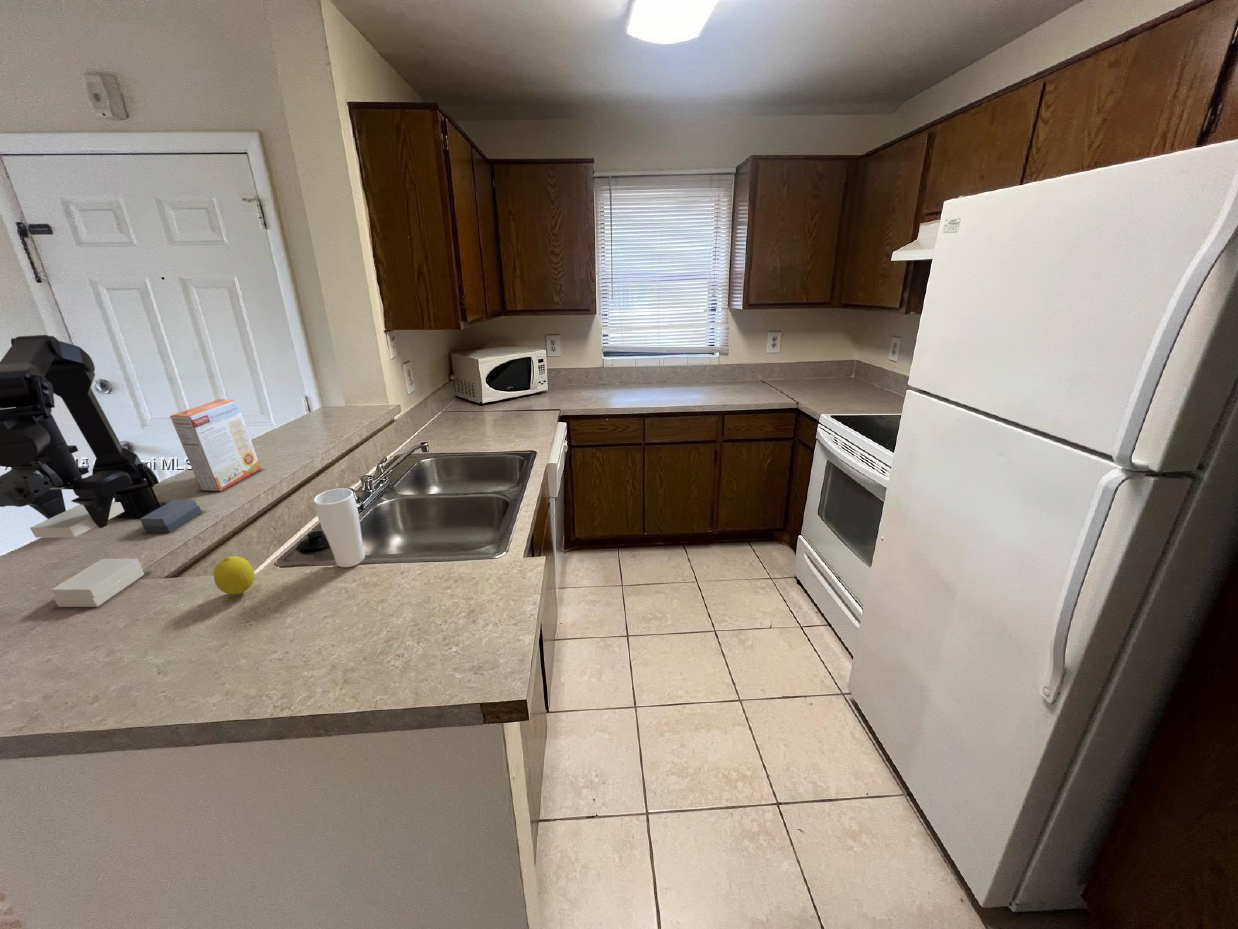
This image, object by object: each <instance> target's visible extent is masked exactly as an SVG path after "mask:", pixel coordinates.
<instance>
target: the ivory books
mask: <svg viewBox="0 0 1238 929" xmlns="http://www.w3.org/2000/svg"><path fill="white" fill-rule="evenodd" d="M144 575H145V573H144V570H143V568H142V565H141V563H140V561H139V559H138V558H101V559H100V560H98V561H97V562H95V563H93V564H92V565H90V566H88V567H86V568H85V569H83V570H81V571H80V572H78V573H77V574H75V575H73V576H72V577H70V578H68V579H66V580H65V581H63V582H62V583H60V584H58V585H57V586H55V587H53V588H52V589H51V591H52V593H53V595H54V596H55V597H54V598H53V600H54V602H55V604H56V605H57V607H58V608H90V607H91V608H98V607H100V606H101V605H102V604H104V603H105V602H107V601H108V600H110V599H111V598H113V597H114V596H115V595H117V594H119V593H120V592H122V591H123V590H124V589H126V588H128V586H130V585H131V584H133V583H134V582H136V581H137V580H139V579H141V578H142V576H144Z"/></svg>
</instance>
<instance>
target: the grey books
mask: <svg viewBox="0 0 1238 929" xmlns="http://www.w3.org/2000/svg"><path fill="white" fill-rule="evenodd" d="M200 514H202V509H201V507H200V505H198V503H197V501H196V499H172V500H171V501H169V502H167V503H166V504H165V505H164V506H162V507H160V508H158V509H156V510H155V511H153V512H151V513H149V514H148V515H146V516H144V517H140V518H139V520H140V522H141V524H142V525H141V526H142V527H143V529H144V530H145V532H146V533H149V534H150V533H157V534H159V533H160V534H161V533H162V534H163V533H168V534H169V533H172V532H173V531H175V530H176V529H178V528H179V527H181V526H183V525H184V524H186V523H187V522H189V521H190V520H192V519H194V518H195V517H197V516H198V515H200Z"/></svg>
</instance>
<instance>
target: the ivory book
mask: <svg viewBox="0 0 1238 929" xmlns="http://www.w3.org/2000/svg"><path fill="white" fill-rule="evenodd" d="M122 512H124V509H123V507H122V505H121V503H120V502H114V501H112V504H111V509H110V513H109V518H108V521H109V520H112V519H113V518H115V517H116V516H117V515H119V514H121V513H122ZM96 527H98V526H97V525H96V524H95V522H94V521H93V519H92V518H91V516H90V515H89V513H88V512H87V510H86V509H85V507H84V506H83V505H81V504H78V505H76V506H74V507H71V508H68V509H66V511H65V512H63V513H60V514H58V515H56V516H54V517H52V518H50V519H46V520H43V521H41V522H40V523H37V524H35V525H33V526H31V527H29V529H30V530H31V533H32V534H33V536H34V537H35V538H36V539H40V538H41V539H46V538H48V539H51V538H55V539H56V538H57V539H58V538H59V539H60V538H63V539H64V538H71V539H72V538H77V537H79V536H80V535H82V534H85V533H86V532H89V531H90V530H92V529H94V528H96Z"/></svg>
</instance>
